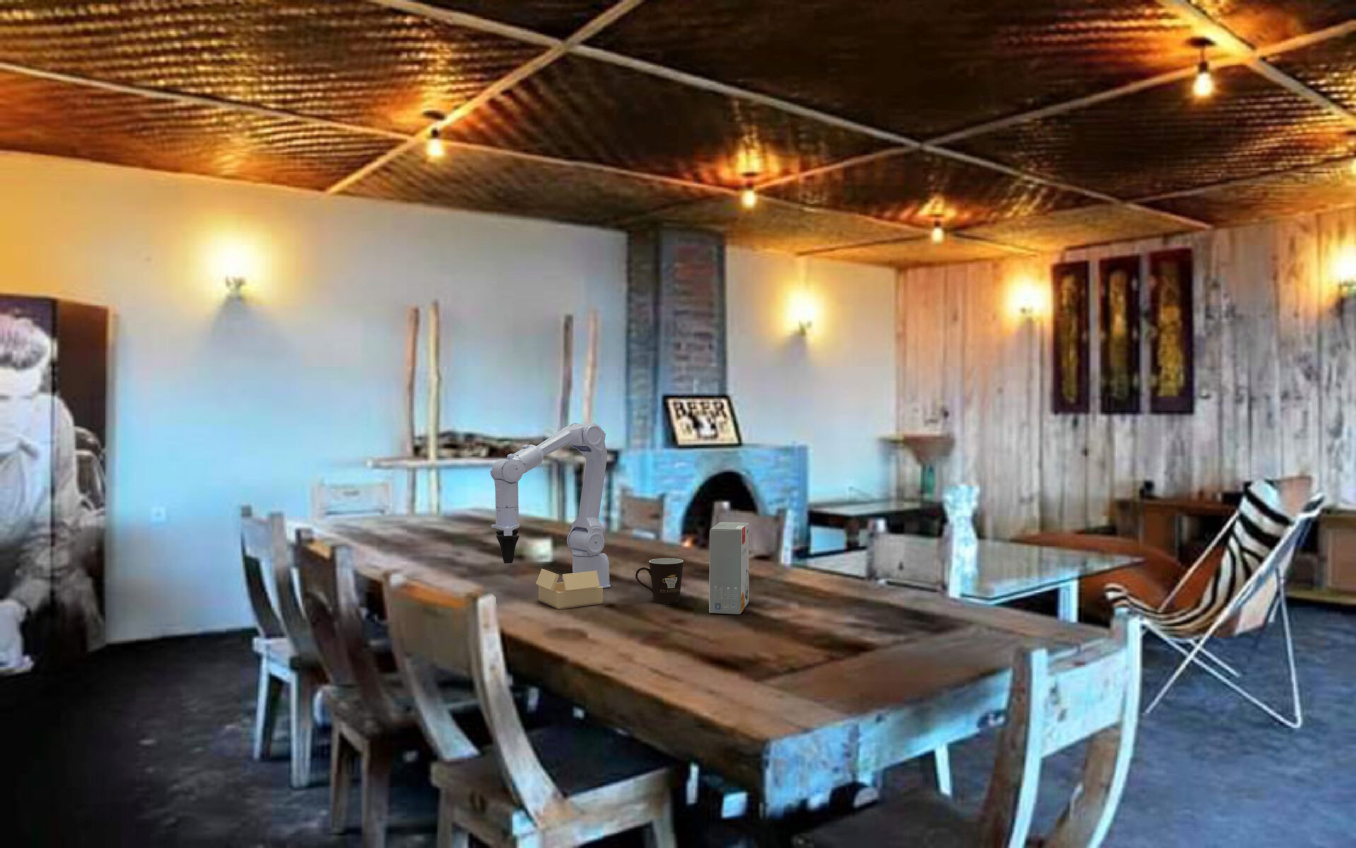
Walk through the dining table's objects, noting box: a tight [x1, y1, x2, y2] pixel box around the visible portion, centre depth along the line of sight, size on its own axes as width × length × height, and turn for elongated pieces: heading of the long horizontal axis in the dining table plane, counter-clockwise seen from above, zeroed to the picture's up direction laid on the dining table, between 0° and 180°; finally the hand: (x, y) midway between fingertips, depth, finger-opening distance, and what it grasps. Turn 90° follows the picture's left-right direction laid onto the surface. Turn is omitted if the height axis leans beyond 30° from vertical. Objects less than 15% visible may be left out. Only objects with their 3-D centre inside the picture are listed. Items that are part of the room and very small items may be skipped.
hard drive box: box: [708, 521, 750, 615], centre depth 226 cm, size 16×8×20 cm, turn 168°
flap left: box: [561, 571, 600, 591], centre depth 229 cm, size 9×4×1 cm
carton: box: [538, 581, 604, 610], centre depth 234 cm, size 12×12×4 cm
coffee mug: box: [634, 557, 684, 605], centre depth 235 cm, size 12×9×10 cm
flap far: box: [535, 568, 560, 591], centre depth 231 cm, size 4×9×1 cm
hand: (508, 560), depth 238 cm, fingers open, 7 cm apart
